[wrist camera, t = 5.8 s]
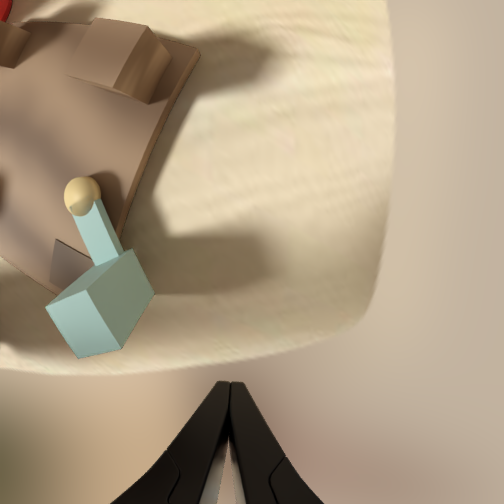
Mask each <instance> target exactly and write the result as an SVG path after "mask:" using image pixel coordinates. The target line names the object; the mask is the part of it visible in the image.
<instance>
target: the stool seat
mask: <svg viewBox="0 0 504 504" xmlns="http://www.w3.org/2000/svg"><path fill="white" fill-rule="evenodd" d="M200 56H201V55H200V53H199V51H198V49H197V48H194V47H191V46H187V45H184V44H181V43H177V42H174V41H170V40H166V39H162V38H158V37H156V36H155V35H154V33H153V32H152V31H151V30H150V28H149V27H148V26H146V25H141V24H136V23H130V22H124V21H118V20H111V19H103V18H95V19H94V20H93V22H92V24H91V25H86V24H76V23H62V22H13V23H12V25H11V24H8V23H6V22H3V21H0V256H1V257H2V258H4V259H5V260H6V261H8V262H9V263H10V264H12V265H13V266H14V267H16V268H17V269H19V270H20V271H21V272H23V273H24V274H26V275H27V276H29V277H30V278H32V279H33V280H34V281H36V282H38V283H39V284H41V285H42V286H44V287H45V288H47V289H48V290H50V291H51V292H53V293H55V294H56V295H59V294H60V293H61V292H63V291H64V290H65V289H66V288H67V287H68V286H70V285H71V284H72V283H73V282H74V281H76V280H77V279H78V278H79V277H80V276H82V275H83V274H84V273H85V272H86V271H88V270H89V269H90V268H91V267H93V266H94V265H95V264H94V262H93V260H92V258H91V256H90V254H89V252H88V249H87V247H86V245H85V243H84V241H83V239H82V236H81V234H80V232H79V230H78V227H77V225H76V223H75V220H74V218H73V215H72V213H70V212H69V210H68V209H67V207H66V205H65V201H64V192H65V188H66V186H67V184H68V183H69V182H70V181H71V180H72V179H74V178H78V177H84V176H88V177H91V178H93V179H94V180H95V181H96V182H97V183H98V185H99V187H100V191H101V200H102V203H103V205H104V207H105V210H106V212H107V215H108V217H109V219H110V222H111V224H112V226H113V228H114V231H115V233H116V235H117V237H118V239H120V236H121V233H122V230H123V227H124V224H125V221H126V218H127V215H128V212H129V209H130V206H131V203H132V200H133V198H134V195H135V192H136V189H137V187H138V184H139V182H140V179H141V176H142V174H143V171H144V169H145V166H146V164H147V162H148V159H149V157H150V154H151V152H152V150H153V147H154V145H155V143H156V141H157V138H158V136H159V134H160V132H161V130H162V128H163V125H164V123H165V121H166V119H167V117H168V115H169V113H170V111H171V109H172V107H173V105H174V103H175V101H176V99H177V97H178V95H179V93H180V91H181V89H182V88H183V86H184V84H185V82H186V80H187V78H188V77H189V75H190V73H191V71H192V70H193V68H194V66H195V64H196V63H197V61H198V59H199V58H200Z"/></svg>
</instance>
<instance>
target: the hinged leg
mask: <svg viewBox="0 0 504 504" xmlns="http://www.w3.org/2000/svg"><path fill="white" fill-rule="evenodd" d="M64 201H65V205H66V207H67V209H68V210H69V212H70V213H72V215H73V218H74V220H75V223H76V225H77V227H78V230H79V232H80V234H81V236H82V239H83V241H84V243H85V245H86V247H87V249H88V252H89V254H90V256H91V258H92V260H93V262H94V264H95V265H94V266H93V267H91V268H90V269H89V270H88V271H86V272H85V273H84V274H83V275H82V276H80V277H79V278H78V279H77V280H76V281H74V282H73V283H72V284H71V285H70V286H68V287H67V288H66V289H65V290H64V291H63V292H61V293H60V294H59V295H58V296H57V297H56V298H55V299H53V300H52V301H51V302H50V303H49V304H48V305H47V306H46V307H45V308H46V310H47V311H48V313H49V315H50V317H51V318H52V320H53V322H54V323H55V325H56V326H57V328H58V330H59V331H60V333H61V334H62V336H63V337H64V339H65V341H66V342H67V344H68V345H69V346H70V348H71V349H72V351H73V352H74V354H75V355H76V357H77V358H78V359H80V358H84V357H89V356H93V355H98V354H102V353H106V352H110V351H115V350H119V349H122V347H123V346H124V344H125V342H126V340H127V339H128V337H129V335H130V334H131V332H132V330H133V328H134V327H135V325H136V323H137V322H138V320H139V318H140V317H141V315H142V313H143V312H144V310H145V308H146V307H147V305H148V304H149V302H150V300H151V299H152V297H153V296H154V294H155V292H154V291H153V289H152V287H151V285H150V283H149V281H148V279H147V277H146V275H145V273H144V271H143V269H142V267H141V265H140V263H139V261H138V259H137V257H136V255H135V253H134V251H133V248H131V249H129V250H126V251H124V250H123V248H122V246H121V244H120V242H119V239H118V237H117V235H116V233H115V231H114V228H113V226H112V224H111V222H110V219H109V217H108V215H107V212H106V210H105V207H104V205H103V203H102V200H101V191H100V187H99V185H98V183H97V182H96V181H95V180H94V179H93V178H91V177H88V176H84V177H78V178H74V179H72V180H71V181H70V182H69V183H68V184H67V186H66V188H65V192H64Z"/></svg>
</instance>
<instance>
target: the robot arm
mask: <svg viewBox="0 0 504 504" xmlns="http://www.w3.org/2000/svg"><path fill="white" fill-rule="evenodd" d="M228 440H229V448H230V456H231V465H232V473H233V482H234V489H235V497H236V504H324V503H323V502H322V501H321V500H320V499H319V498H318V497H317V496H316V495H315V493H314V492H313V491H312V490H311V489H310V488H309V487H308V485H307V484H306V483H305V482H304V481H303V480H302V478H301V477H300V476H299V474H298V473H297V471H296V470H295V468H294V467H293V466H292V464H291V462H290V461H289V459H288V458H287V457H286V455H285V453H284V452H283V450H282V448H281V446H280V445H279V443H278V442H277V440H276V438H275V437H274V435H273V433H272V432H271V430H270V428H269V426H268V425H267V423H266V421H265V419H264V418H263V416H262V414H261V412H260V411H259V409H258V407H257V406H256V404H255V402H254V400H253V398H252V396H251V395H250V393H249V391H248V389H247V387H246V385H245V384H244V383H243V382H231V383H230V382H229V381H217V382H216V384H215V385H214V386H213V388H212V389H211V391H210V392H209V393H208V395H207V396H206V397H205V399H204V400H203V402H202V403H201V404H200V406H199V407H198V408H197V410H196V411H195V413H194V414H193V415H192V416H191V418H190V419H189V420H188V422H187V423H186V424H185V426H184V427H183V428H182V430H181V431H180V432H179V433H178V435H177V436H176V437H175V439H174V440H173V441H172V442H171V444H170V445H169V446H168V448H167V450H165V451H164V452H163V454H162V455H161V456H160V457H159V459H158V460H157V461H156V462H155V463H154V464H153V466H152V467H151V468H150V469H149V470H148V471H147V472H146V473H145V474H144V475H143V476H142V477H141V478H140V479H138V481H136V482H135V483H134V484H133V485H132V486H131V487H129V488H128V489H127V490H126V491H125V492H124V493H122V494H121V495H120V496H119V497H118V498H116V499H115V500H114V501H113V502H112V503H110V504H217V499H218V494H219V489H220V484H221V478H222V473H223V468H224V463H225V457H226V453H227V447H228Z"/></svg>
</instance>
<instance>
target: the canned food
mask: <svg viewBox="0 0 504 504" xmlns="http://www.w3.org/2000/svg"><path fill="white" fill-rule="evenodd" d="M11 5H12V0H0V21H3V22H6V19H7V17H8V15H9V12H10V9H11Z"/></svg>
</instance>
